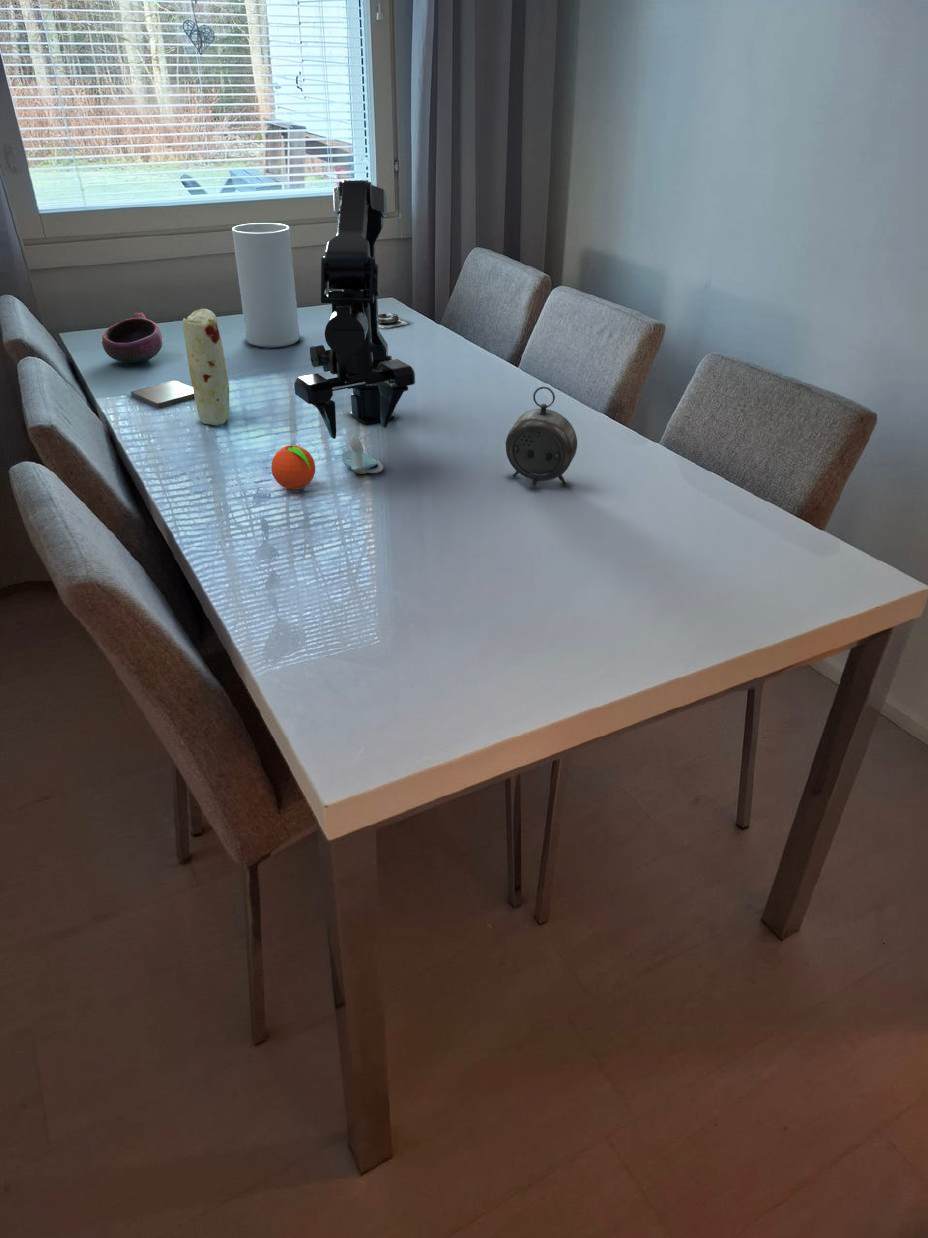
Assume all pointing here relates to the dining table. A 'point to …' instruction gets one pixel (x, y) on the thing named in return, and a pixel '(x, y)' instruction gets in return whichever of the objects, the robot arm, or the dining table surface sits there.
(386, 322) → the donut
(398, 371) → the robot arm
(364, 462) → the pacifier
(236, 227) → the cylinder vase
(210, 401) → the food model
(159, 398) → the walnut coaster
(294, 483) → the clementine
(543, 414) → the alarm clock
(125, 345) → the bowl
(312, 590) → the dining table surface
